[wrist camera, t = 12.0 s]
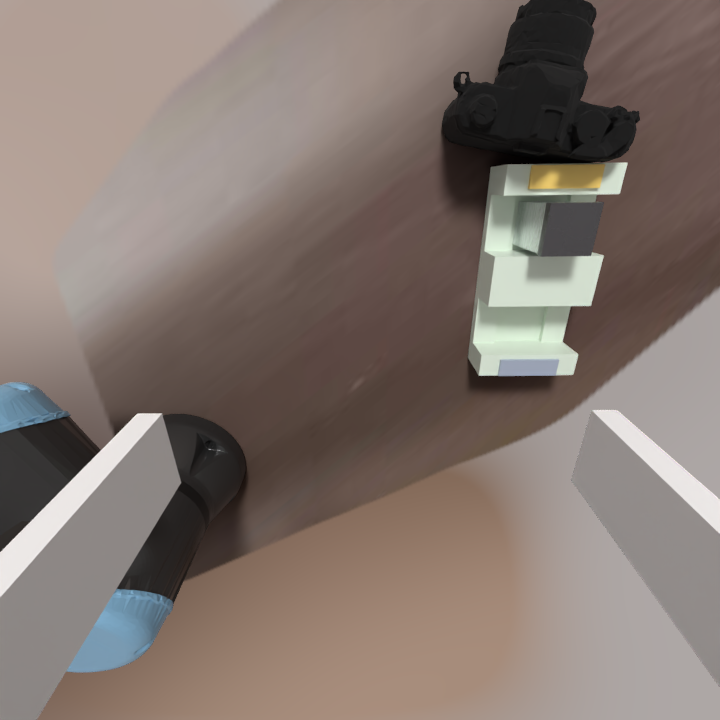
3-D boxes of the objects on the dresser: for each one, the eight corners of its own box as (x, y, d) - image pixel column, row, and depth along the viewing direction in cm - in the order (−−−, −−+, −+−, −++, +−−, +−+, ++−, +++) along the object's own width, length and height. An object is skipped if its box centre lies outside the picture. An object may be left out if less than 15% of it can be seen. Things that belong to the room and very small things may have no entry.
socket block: (467, 357, 44) (479, 376, 40) (490, 166, 36) (509, 164, 31) (553, 357, 44) (574, 376, 39) (596, 165, 35) (630, 162, 31)
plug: (511, 245, 38) (541, 256, 32) (518, 200, 36) (551, 202, 30) (552, 244, 38) (590, 256, 32) (561, 199, 36) (603, 202, 30)
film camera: (629, 50, 32) (721, 3, 24) (581, 175, 36) (646, 171, 28) (457, 11, 31) (491, -51, 23) (428, 144, 35) (449, 131, 27)
